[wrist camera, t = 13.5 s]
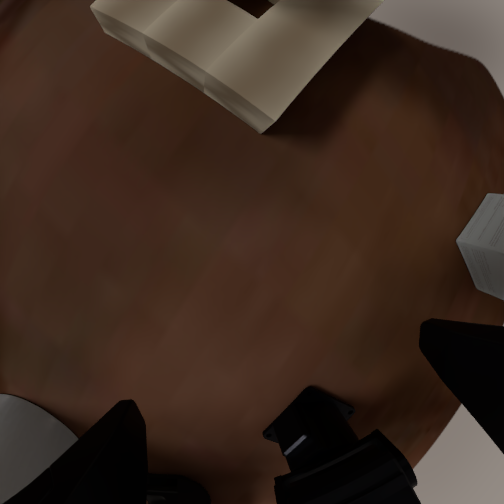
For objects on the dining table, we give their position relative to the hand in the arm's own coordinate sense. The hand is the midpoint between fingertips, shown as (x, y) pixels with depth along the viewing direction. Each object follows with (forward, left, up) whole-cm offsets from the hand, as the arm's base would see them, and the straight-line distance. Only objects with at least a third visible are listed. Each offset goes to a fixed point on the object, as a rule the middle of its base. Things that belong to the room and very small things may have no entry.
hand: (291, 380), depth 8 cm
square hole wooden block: (+11, -15, -13) cm, 23 cm away
